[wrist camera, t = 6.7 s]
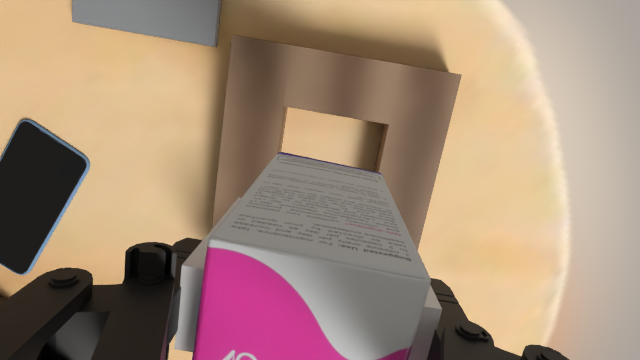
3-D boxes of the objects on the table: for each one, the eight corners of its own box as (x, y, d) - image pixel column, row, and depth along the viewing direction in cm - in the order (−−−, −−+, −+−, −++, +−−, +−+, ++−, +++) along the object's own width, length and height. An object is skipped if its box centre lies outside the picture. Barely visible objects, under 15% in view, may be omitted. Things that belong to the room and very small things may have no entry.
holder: (219, 234, 37) (209, 247, 34) (241, 39, 33) (232, 34, 30) (403, 266, 37) (409, 281, 34) (450, 75, 33) (461, 74, 30)
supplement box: (273, 149, 20) (205, 230, 9) (384, 171, 20) (450, 278, 9) (255, 249, 22) (178, 426, 10) (359, 270, 22) (391, 465, 11)
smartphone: (91, 161, 36) (23, 280, 39) (97, 159, 36) (30, 276, 40) (19, 114, 35) (-45, 239, 38) (26, 113, 36) (-36, 236, 39)
